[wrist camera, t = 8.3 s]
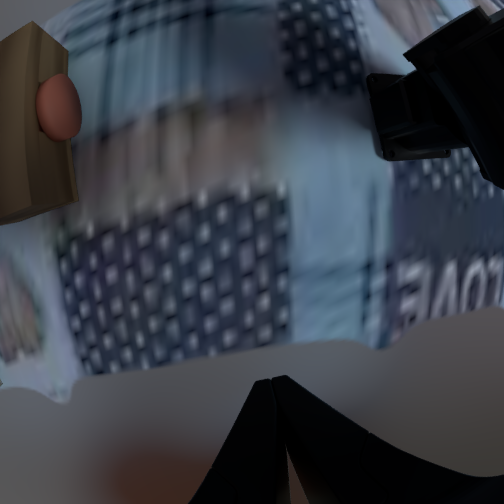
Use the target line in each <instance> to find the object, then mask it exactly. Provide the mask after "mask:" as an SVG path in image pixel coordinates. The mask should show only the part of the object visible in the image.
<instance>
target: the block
mask: <svg viewBox="0 0 504 504" xmlns="http://www.w3.org/2000/svg"><path fill="white" fill-rule="evenodd" d="M57 74H65V75H66V76H67V77H68V50H66V49H65V48H64V47H63V46H62V45H61V44H59V43H58V42H57V41H56V40H55V39H54V38H52V37H51V36H50V35H49V34H48V33H46V32H45V31H44V30H43V29H42V28H41V27H39V26H38V25H37V24H36V23H34V22H33V21H31V22H30V23H28V24H26V25H25V26H23V27H22V28H20V29H18V30H17V31H15V32H14V33H12V34H11V35H9V36H8V37H6V38H5V39H3V40H2V41H1V42H0V225H5V224H10V223H15V222H20V221H22V220H25V219H28V218H30V217H33V216H36V215H38V214H41V213H44V212H47V211H50V210H53V209H56V208H58V207H61V206H64V205H67V204H71V203H74V202H77V201H79V199H78V193H77V187H76V181H75V174H74V166H73V158H72V149H71V139H70V138H69V139H67V140H64V141H62V142H55V141H53V140H51V139H50V138H49V137H48V136H47V135H46V134H45V133H43V132H40V131H39V125H38V116H37V111H36V95H37V91H38V88H39V86H40V84H41V83H42V82H43V81H45V80H47V79H49V78H51V77H53V76H55V75H57Z"/></svg>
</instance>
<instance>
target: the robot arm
mask: <svg viewBox="0 0 504 504" xmlns="http://www.w3.org/2000/svg"><path fill="white" fill-rule="evenodd" d="M403 56H404V57H405V58H406V59H407V60H408V62H411V63H412V64H413V65H414V66H415V68H416V70H414V71H412V72H410V73H409V74H407V75H405V76H404V75H393V74H378V73H371V74H370V75H368V76H367V78H366V82H367V85H368V89H369V93H370V97H371V98H370V102H371V106H372V110H373V115H374V119H375V123H376V128H377V132H378V133H379V136H380V141H381V146H382V151H383V156H384V158H385V160H387V161H403V160H416V159H432V158H448V157H450V155H451V150H450V149H457V148H465V147H469V148H470V150H471V152H472V154H473V156H474V158H475V160H476V161H477V163H478V165H479V167H480V173H481V175H482V177H483V178H484V179H486V180H488V181H490V182H492V183H493V184H494V185H495V186H497V187H499V188H501V189H503V190H504V8H503V9H502V10H500V11H498V12H496V13H494V14H492V15H490V16H487V14H486V13H485V12H484V10H483V9H482V8H481V7H480V5H479V6H477V7H475V8H473V9H471V10H469V11H467V12H465V13H463V14H461V15H459V16H458V17H456V18H454V19H453V20H451V21H450V22H448V23H447V24H445V25H443V26H442V27H440V28H439V29H437V30H436V31H434V32H433V33H432V34H430V35H429V36H427V37H426V38H425V39H423V40H422V41H420V42H419V43H418V44H416V45H415V46H413V47H412V48H411V49H409V50H408V51H407V52H405V53H404V54H403ZM372 78H373V79H374V80H375V82H373V81H372ZM444 150H445V151H446V153H445V152H444ZM389 151H390V152H391V153H392V157H390V156H389ZM284 440H285V441H284ZM285 445H286V446H285ZM286 448H287V451H286ZM287 452H288V454H289V457H290V460H291V462H292V464H293V467H294V469H295V472H296V474H297V476H298V479H299V481H300V483H301V486H302V488H303V491H304V493H305V495H306V497H307V500H308V502H309V504H504V475H499V476H492V477H478V476H471V475H466V474H463V473H460V472H457V471H454V470H451V469H448V468H445V467H442V466H439V465H437V464H434V463H431V462H429V461H426V460H423V459H421V458H418V457H416V456H414V455H412V454H409V453H407V452H405V451H402V450H400V449H398V448H396V447H395V446H393V445H391V444H389V443H387V442H386V441H384V440H382V439H380V438H379V437H377V436H375V435H374V434H372V433H369V431H367V430H366V429H364V428H363V427H361V426H359V425H358V424H357V423H355V422H353V421H352V420H350V419H349V418H347V417H346V416H344V415H343V414H341V413H340V412H338V411H337V410H335V409H334V408H332V407H331V406H330V405H328V404H327V403H325V402H324V401H322V400H321V399H319V398H318V397H316V396H315V395H314V394H312V393H311V392H309V391H308V390H307V389H305V388H304V387H302V386H301V385H300V384H298V383H297V382H295V381H294V380H293V379H291V378H290V377H289V376H287V375H282V376H278V377H273V378H272V379H271V380H270V379H264V380H259V381H256V382H255V383H254V385H253V387H252V389H251V391H250V393H249V395H248V397H247V399H246V401H245V403H244V405H243V407H242V409H241V411H240V413H239V415H238V417H237V419H236V421H235V423H234V425H233V427H232V429H231V430H230V433H229V435H228V436H227V438H226V440H225V442H224V444H223V446H222V448H221V449H220V452H219V453H218V455H217V457H216V459H215V461H214V463H213V464H212V466H211V467H212V468H211V469H209V471H208V473H207V475H206V477H205V479H204V480H203V482H202V483H201V485H200V487H199V488H198V490H197V491H196V493H195V495H194V496H193V497H192V499H191V500H190V501H189V503H188V504H291V498H290V484H289V471H288V459H287Z"/></svg>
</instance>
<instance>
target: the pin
mask: <svg viewBox="0 0 504 504" xmlns="http://www.w3.org/2000/svg"><path fill="white" fill-rule="evenodd" d="M36 111H37V116H38V125H39V131H40V132H43V133H45V134H46V135H47V136H48V137H49V138H50V139H51V140H53V141H55V142H62V141H64V140H67V139H69V138H72V137H74V136H76V135H77V134H78V132H79V130H80V127H81V120H82V113H81V104H80V100H79V96H78V93H77V90H76V88H75V86H74V84H73V82H72V81H71V80H70V78H69V77H67V76H66V75H65V74H57V75H55V76H53V77H51V78H49V79H47V80H45V81H43V82H42V83H41V84H40V86H39V88H38V91H37V95H36Z"/></svg>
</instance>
